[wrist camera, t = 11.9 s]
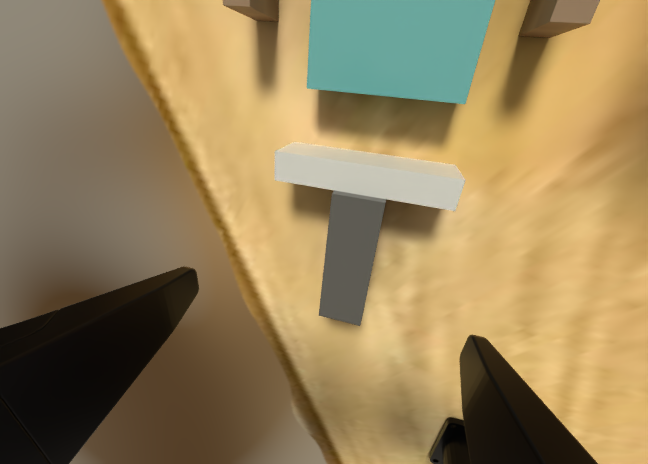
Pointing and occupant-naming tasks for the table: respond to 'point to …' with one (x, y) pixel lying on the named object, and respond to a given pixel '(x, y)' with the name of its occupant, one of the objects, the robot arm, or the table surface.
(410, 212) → the table surface
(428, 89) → the tile
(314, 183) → the pusher
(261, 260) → the table surface
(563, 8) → the tile bay
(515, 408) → the robot arm
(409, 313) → the table surface
